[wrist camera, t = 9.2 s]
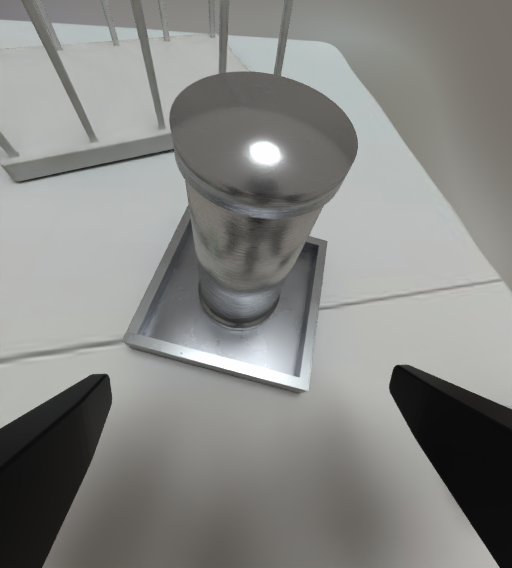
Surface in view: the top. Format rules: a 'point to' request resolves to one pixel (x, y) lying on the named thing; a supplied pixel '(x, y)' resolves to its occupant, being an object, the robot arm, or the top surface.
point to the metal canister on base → (255, 183)
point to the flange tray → (225, 342)
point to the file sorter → (103, 91)
